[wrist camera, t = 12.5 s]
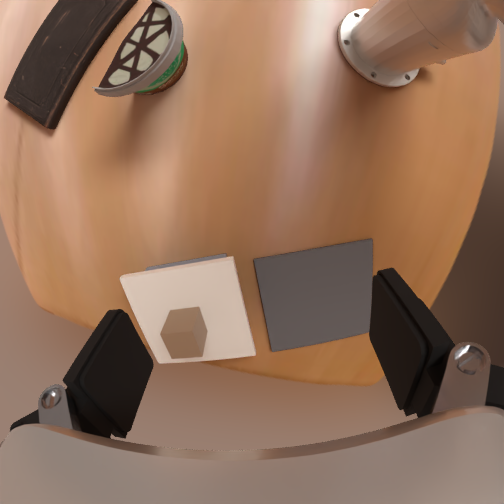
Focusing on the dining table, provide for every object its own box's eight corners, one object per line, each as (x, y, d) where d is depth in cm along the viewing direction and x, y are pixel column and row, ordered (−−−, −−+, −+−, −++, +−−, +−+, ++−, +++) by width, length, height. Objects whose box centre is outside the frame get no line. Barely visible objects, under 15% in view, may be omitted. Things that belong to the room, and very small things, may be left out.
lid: (233, 256, 32) (229, 280, 26) (255, 350, 37) (256, 381, 32) (122, 275, 33) (102, 298, 27) (160, 359, 38) (150, 387, 33)
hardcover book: (11, 97, 26) (3, 97, 24) (79, -13, 19) (73, -18, 17) (57, 129, 30) (48, 129, 28) (140, 1, 23) (134, -6, 21)
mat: (371, 238, 36) (372, 239, 36) (368, 330, 43) (369, 332, 42) (253, 259, 37) (253, 260, 37) (271, 349, 44) (272, 351, 43)
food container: (166, 118, 30) (135, 111, 21) (129, 102, 29) (89, 92, 20) (215, 40, 26) (203, 6, 17) (176, 26, 25) (153, -7, 16)
